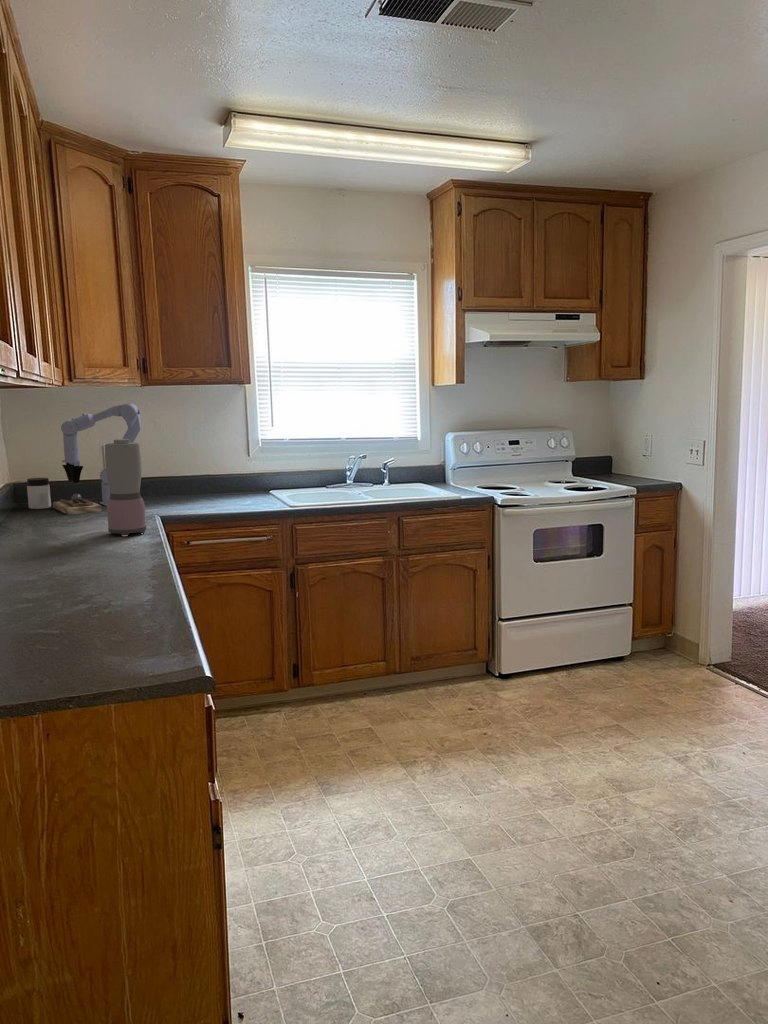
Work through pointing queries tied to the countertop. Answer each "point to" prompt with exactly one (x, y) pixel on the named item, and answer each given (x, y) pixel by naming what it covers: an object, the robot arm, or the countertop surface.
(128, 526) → the blender
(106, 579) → the countertop surface
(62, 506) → the board
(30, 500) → the jar
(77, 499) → the ball
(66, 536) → the countertop surface
